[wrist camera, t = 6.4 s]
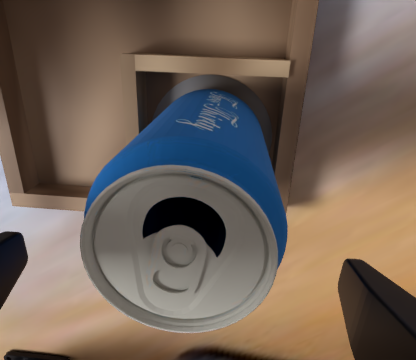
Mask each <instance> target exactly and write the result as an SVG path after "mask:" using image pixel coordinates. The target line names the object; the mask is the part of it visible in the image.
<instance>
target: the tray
mask: <svg viewBox="0 0 416 360" xmlns="http://www.w3.org/2000/svg"><path fill="white" fill-rule="evenodd" d="M318 3H319V0H0V156H1V160H2V164H3V168H4V172H5V176H6V180H7V185H8V189H9V193H10V197H11V201H12V205H13V206H19V207H32V208H46V209H59V210H73V211H85V206H86V201H87V198H88V195H89V192H90V189H91V186H92V185H93V183H94V181H95V179H96V177H97V176H98V174H99V173H100V172H101V170H102V169H103V168H104V166H105V165H106V164H108V163H109V162H110V161H111V160H112V159H113V158H114V157H115V156H116V155H117V154H118V153H119V152H120V151H121V150H122V149H123V148H124V147H126V146H127V145H128V144H129V143H130V142H131V141H132V140H133V139H134V138H135V137H136V136H137V135H138V134H139V133H141V132H142V131H143V130H144V129H145V128H146V127H147V126H148V125H149V124H150V123H151V122H152V121H153V120H154V119H156V118H157V117H158V116H159V115H160V114H161V113H162V112H163V111H164V110H165V109H166V108H167V107H168V106H170V105H171V104H172V103H173V102H174V101H175V100H176V99H178V98H179V97H181V96H183V95H185V94H187V93H189V92H192V91H196V90H200V89H216V90H221V91H225V92H228V93H230V94H232V95H234V96H236V97H238V98H239V99H241V100H242V101H244V102H245V103H246V104H247V105H248V106H249V107H250V108H251V110H252V111H253V112H254V114H255V115H256V117H257V119H258V121H259V123H260V126H261V130H262V133H263V136H264V140H265V143H266V147H267V150H268V154H269V157H270V161H271V164H272V168H273V171H274V175H275V178H276V182H277V185H278V189H279V192H280V196H281V199H282V203H283V206H284V209H285V213H286V211H287V205H288V198H289V192H290V185H291V179H292V172H293V166H294V159H295V153H296V146H297V140H298V133H299V127H300V120H301V114H302V107H303V101H304V94H305V88H306V81H307V75H308V68H309V62H310V55H311V49H312V42H313V36H314V29H315V23H316V16H317V10H318Z"/></svg>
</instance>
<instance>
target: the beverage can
mask: <svg viewBox="0 0 416 360" xmlns="http://www.w3.org/2000/svg"><path fill="white" fill-rule="evenodd" d="M286 242H287V219H286V213H285V209H284V206H283V203H282V199H281V196H280V192H279V189H278V185H277V182H276V178H275V175H274V171H273V168H272V164H271V161H270V157H269V154H268V150H267V147H266V143H265V140H264V136H263V133H262V130H261V126H260V123H259V121H258V119H257V117H256V115H255V114H254V112H253V111H252V110H251V108H250V107H249V106H248V105H247V104H246V103H245V102H244V101H242V100H241V99H239V98H238V97H236V96H234V95H232V94H230V93H228V92H225V91H221V90H216V89H200V90H196V91H192V92H189V93H187V94H185V95H183V96H181V97H179V98H178V99H176V100H175V101H174V102H173V103H172V104H171V105H170V106H168V107H167V108H166V109H165V110H164V111H163V112H162V113H161V114H160V115H159V116H158V117H157V118H156V119H154V120H153V121H152V122H151V123H150V124H149V125H148V126H147V127H146V128H145V129H144V130H143V131H142V132H141V133H139V134H138V135H137V136H136V137H135V138H134V139H133V140H132V141H131V142H130V143H129V144H128V145H127V146H126V147H124V148H123V149H122V150H121V151H120V152H119V153H118V154H117V155H116V156H115V157H114V158H113V159H112V160H111V161H110V162H109V163H108V164H106V165H105V166H104V168H103V169H102V170H101V172H100V173H99V174H98V176H97V177H96V179H95V181H94V183H93V185H92V186H91V189H90V192H89V195H88V198H87V201H86V206H85V213H84V222H83V224H82V229H81V235H80V249H81V256H82V260H83V264H84V267H85V269H86V272H87V274H88V276H89V278H90V280H91V281H92V283H93V285H94V286H95V288H96V289H97V290H98V291H99V293H100V294H101V295H102V296H103V297H104V298H105V299H106V300H107V301H108V302H109V303H110V304H111V305H112V306H113V307H115V308H116V309H117V310H118V311H120V312H121V313H123V314H124V315H126V316H128V317H129V318H131V319H133V320H135V321H137V322H139V323H142V324H144V325H147V326H149V327H153V328H156V329H159V330H164V331H169V332H178V333H199V332H207V331H212V330H217V329H220V328H223V327H226V326H229V325H231V324H233V323H236V322H237V321H239V320H241V319H243V318H244V317H246V316H247V315H248V314H250V313H251V312H252V311H254V310H255V309H256V308H257V307H258V306H259V305H260V304H261V303H262V301H263V300H264V299H265V297H266V296H267V294H268V293H269V291H270V289H271V287H272V285H273V282H274V279H275V276H276V272H277V269H278V267H279V265H280V263H281V261H282V258H283V255H284V252H285V248H286Z"/></svg>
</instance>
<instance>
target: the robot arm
mask: <svg viewBox="0 0 416 360" xmlns="http://www.w3.org/2000/svg"><path fill="white" fill-rule="evenodd" d="M27 261H28V254H27V250H26V246H25V242H24V238H23V235H22V234H21V233H19V232H8V231H7V232H2V233H0V309H1V307H2V306H3V304H4V303H5V301H6V299H7V297H8V296H9V294H10V292H11V290H12V289H13V287H14V285H15V283H16V282H17V280H18V278H19V277H20V275H21V273H22V271H23V270H24V268H25V266H26V264H27ZM338 292H339V297H340V301H341V306H342V311H343V315H344V320H345V324H346V329H347V333H348V338H349V342H350V346H351V349H352V352H353V356H354V359H355V360H416V298H415V297H414V296H412V295H411V294H409V293H408V292H407V291H405V290H404V289H402V288H401V287H400V286H398V285H397V284H395V283H394V282H393V281H391V280H390V279H388V278H387V277H385V276H384V275H383V274H381V273H380V272H378V271H377V270H376V269H374V268H373V267H371V266H370V265H369V264H367V263H366V262H364V261H363V260H360V259H346V260H345V261H344V263H343V266H342V270H341V274H340V278H339V282H338ZM4 360H70V359H69V358H67V357H59V356H50V355H40V354H31V353H21V352H11V351H9V352H7V353H6V355H5V356H4Z"/></svg>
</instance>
